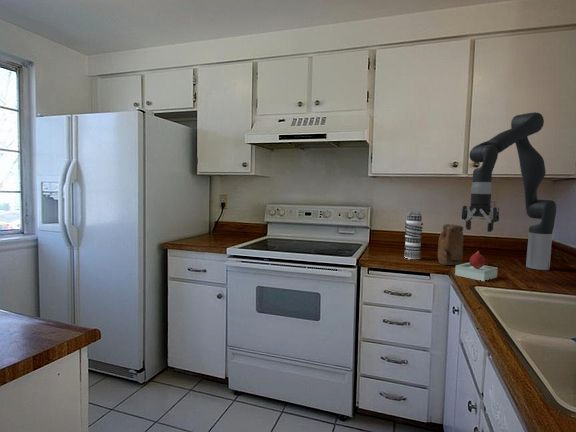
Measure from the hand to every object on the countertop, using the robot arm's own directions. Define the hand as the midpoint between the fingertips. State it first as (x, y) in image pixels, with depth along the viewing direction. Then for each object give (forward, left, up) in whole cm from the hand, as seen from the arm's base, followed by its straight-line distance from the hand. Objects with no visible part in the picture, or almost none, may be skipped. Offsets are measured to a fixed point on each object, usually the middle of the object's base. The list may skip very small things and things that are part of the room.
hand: (478, 230), depth 146 cm
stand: (0, 0, -20) cm, 20 cm away
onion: (0, 0, -17) cm, 17 cm away
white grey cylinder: (-10, -38, -20) cm, 44 cm away
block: (-13, -19, -20) cm, 30 cm away
